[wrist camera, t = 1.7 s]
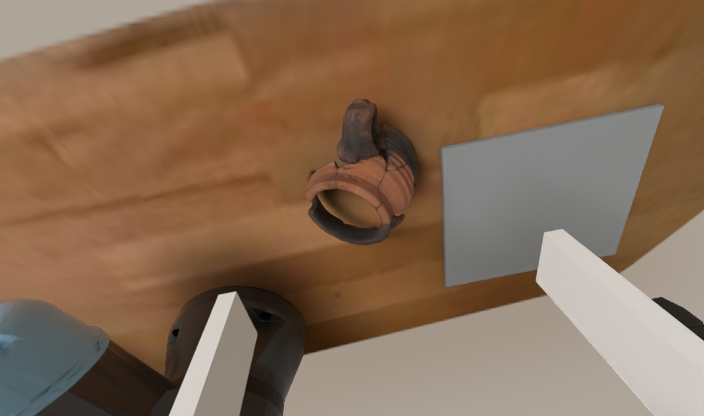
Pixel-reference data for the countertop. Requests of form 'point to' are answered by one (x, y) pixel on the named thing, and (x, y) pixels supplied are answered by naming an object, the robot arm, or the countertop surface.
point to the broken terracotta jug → (366, 175)
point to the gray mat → (540, 191)
